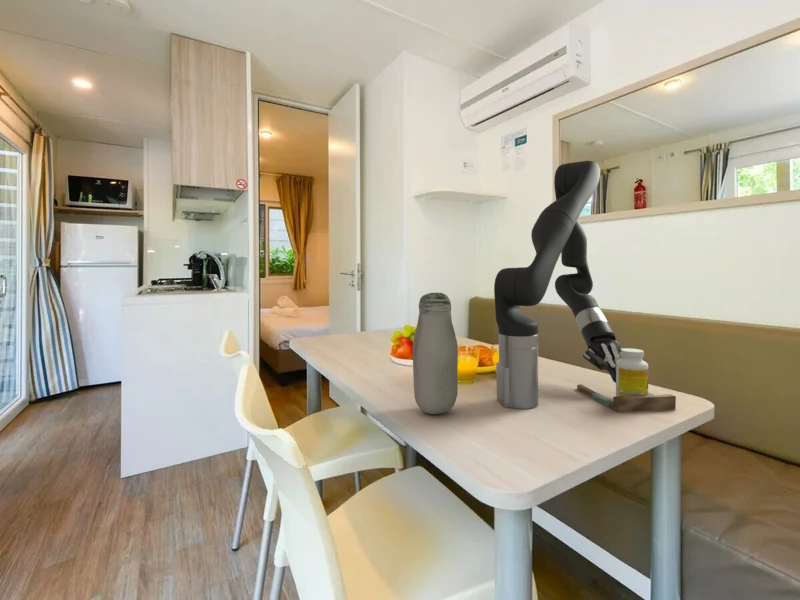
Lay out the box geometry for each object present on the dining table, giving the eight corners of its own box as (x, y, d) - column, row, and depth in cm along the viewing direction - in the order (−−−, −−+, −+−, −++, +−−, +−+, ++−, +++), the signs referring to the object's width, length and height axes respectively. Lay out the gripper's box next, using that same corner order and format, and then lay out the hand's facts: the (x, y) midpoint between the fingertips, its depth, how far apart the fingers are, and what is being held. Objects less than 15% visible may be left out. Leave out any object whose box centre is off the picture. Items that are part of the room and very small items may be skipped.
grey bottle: (432, 423, 82) (429, 294, 80) (406, 410, 91) (403, 293, 89) (467, 413, 87) (465, 292, 85) (439, 402, 96) (437, 291, 94)
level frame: (616, 411, 86) (617, 398, 86) (577, 388, 104) (577, 378, 103) (675, 409, 87) (675, 396, 87) (626, 386, 104) (626, 376, 104)
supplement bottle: (652, 408, 88) (653, 353, 87) (620, 406, 89) (621, 352, 89) (642, 399, 94) (642, 347, 93) (612, 397, 96) (612, 347, 95)
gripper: (576, 320, 104) (602, 376, 92) (623, 318, 104) (654, 374, 93) (566, 336, 109) (590, 391, 98) (611, 334, 110) (639, 388, 99)
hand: (621, 382), depth 95 cm, fingers closed
